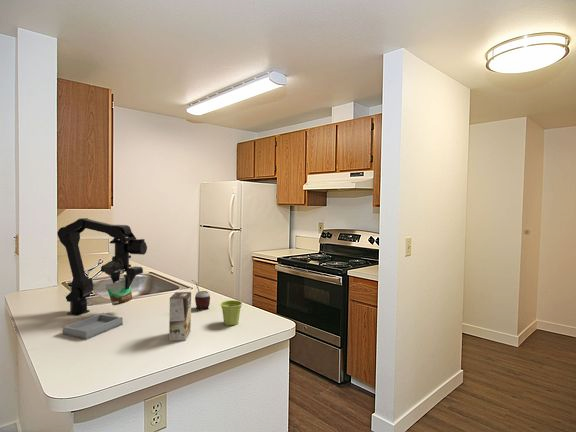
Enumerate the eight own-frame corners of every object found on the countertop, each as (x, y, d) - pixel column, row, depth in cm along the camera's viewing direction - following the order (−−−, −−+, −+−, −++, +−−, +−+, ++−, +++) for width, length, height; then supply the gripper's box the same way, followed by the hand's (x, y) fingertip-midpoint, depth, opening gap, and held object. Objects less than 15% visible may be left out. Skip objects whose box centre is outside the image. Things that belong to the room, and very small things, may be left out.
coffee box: (186, 340, 130) (186, 298, 129) (168, 340, 130) (169, 298, 129) (191, 331, 139) (191, 291, 139) (174, 331, 139) (175, 291, 138)
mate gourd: (211, 307, 171) (212, 276, 170) (206, 312, 163) (207, 280, 162) (197, 306, 172) (197, 276, 171) (191, 311, 164) (191, 279, 163)
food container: (121, 306, 149) (115, 284, 148) (109, 306, 151) (104, 284, 150) (141, 295, 161) (136, 274, 160) (130, 295, 163) (126, 275, 162)
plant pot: (215, 325, 147) (216, 304, 146) (227, 318, 156) (227, 299, 155) (235, 328, 144) (235, 307, 143) (245, 321, 152) (246, 301, 152)
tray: (62, 334, 133) (62, 327, 133) (100, 320, 149) (100, 313, 149) (86, 339, 129) (86, 331, 129) (122, 324, 145) (122, 317, 145)
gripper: (90, 254, 150) (90, 290, 151) (124, 258, 144) (124, 295, 144) (111, 251, 160) (111, 284, 161) (143, 254, 154) (143, 289, 155)
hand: (121, 288), depth 155 cm, fingers closed on food container, 6 cm apart
